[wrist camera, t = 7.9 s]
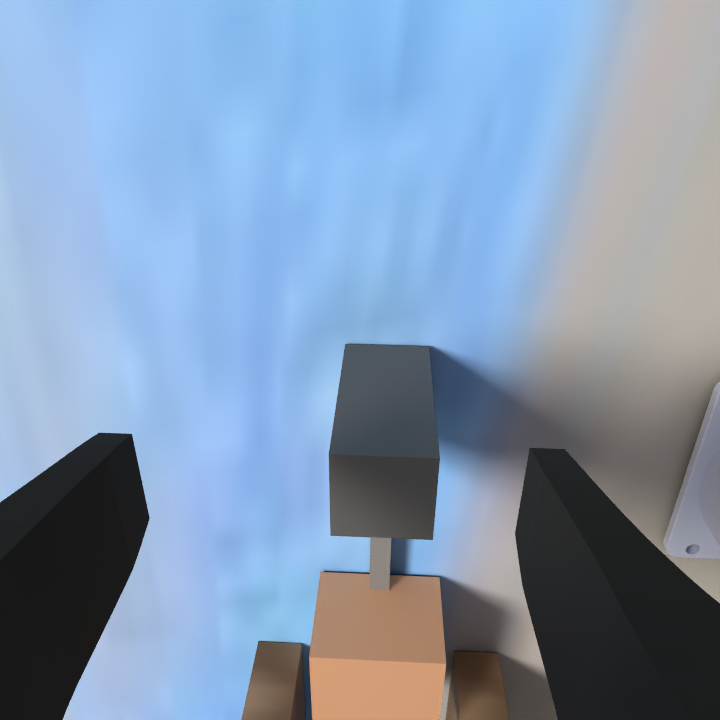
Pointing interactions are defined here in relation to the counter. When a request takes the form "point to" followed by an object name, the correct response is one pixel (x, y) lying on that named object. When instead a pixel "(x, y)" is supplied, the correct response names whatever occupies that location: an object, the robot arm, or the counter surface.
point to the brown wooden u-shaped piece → (287, 698)
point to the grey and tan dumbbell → (381, 545)
